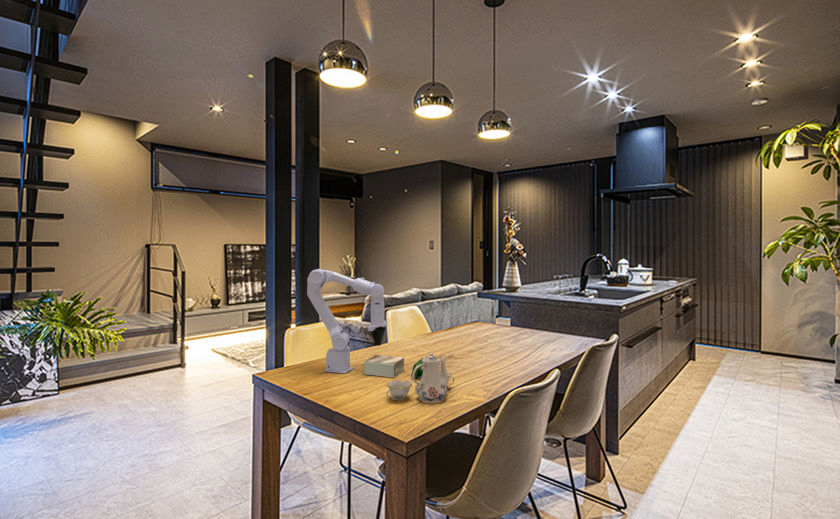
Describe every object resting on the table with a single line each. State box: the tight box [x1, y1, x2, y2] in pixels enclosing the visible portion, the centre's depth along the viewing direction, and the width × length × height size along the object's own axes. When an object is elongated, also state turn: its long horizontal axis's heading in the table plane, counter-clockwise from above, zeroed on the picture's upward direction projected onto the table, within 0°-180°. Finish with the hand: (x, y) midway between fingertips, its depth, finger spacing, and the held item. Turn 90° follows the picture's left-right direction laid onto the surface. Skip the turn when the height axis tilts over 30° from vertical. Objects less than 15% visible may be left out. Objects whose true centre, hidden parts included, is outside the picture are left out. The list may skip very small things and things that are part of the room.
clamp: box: [410, 357, 424, 380], centre depth 165 cm, size 12×6×9 cm, turn 156°
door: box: [363, 360, 396, 378], centre depth 165 cm, size 14×1×5 cm, turn 71°
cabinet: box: [365, 354, 405, 378], centre depth 170 cm, size 13×10×6 cm
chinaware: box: [386, 351, 455, 404], centre depth 143 cm, size 28×17×17 cm, turn 132°
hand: (377, 345), depth 174 cm, fingers closed
